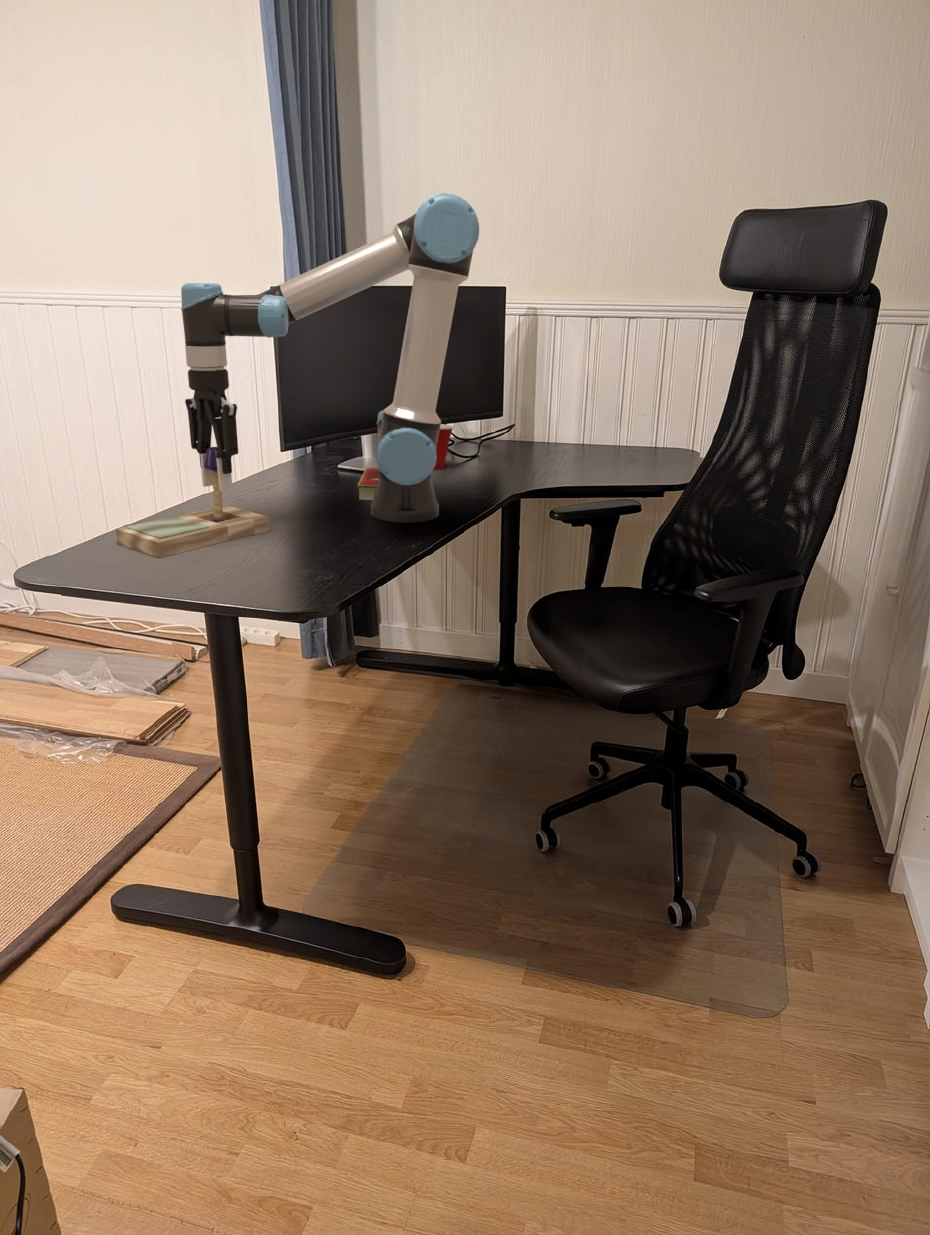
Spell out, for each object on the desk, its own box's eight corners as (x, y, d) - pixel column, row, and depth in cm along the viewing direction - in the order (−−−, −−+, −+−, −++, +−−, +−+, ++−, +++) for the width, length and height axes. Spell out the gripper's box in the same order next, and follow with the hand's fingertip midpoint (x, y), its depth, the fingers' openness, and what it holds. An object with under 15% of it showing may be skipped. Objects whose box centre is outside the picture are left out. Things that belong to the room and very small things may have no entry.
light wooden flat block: (269, 530, 186) (268, 515, 184) (159, 557, 167) (157, 540, 165) (227, 518, 194) (225, 503, 193) (117, 543, 175) (115, 527, 174)
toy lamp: (229, 524, 187) (223, 445, 181) (235, 530, 184) (229, 448, 178) (206, 527, 185) (199, 446, 179) (212, 532, 181) (204, 450, 176)
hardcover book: (412, 483, 233) (412, 467, 231) (408, 502, 213) (408, 485, 211) (366, 482, 232) (366, 466, 231) (357, 501, 213) (357, 484, 211)
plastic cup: (461, 467, 252) (462, 423, 247) (437, 472, 243) (437, 428, 239) (431, 461, 258) (432, 419, 253) (407, 467, 250) (406, 423, 245)
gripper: (252, 370, 171) (260, 490, 179) (196, 363, 181) (206, 478, 189) (219, 373, 165) (229, 497, 173) (164, 366, 175) (175, 483, 184)
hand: (217, 487), depth 181 cm, fingers closed on toy lamp, 5 cm apart
